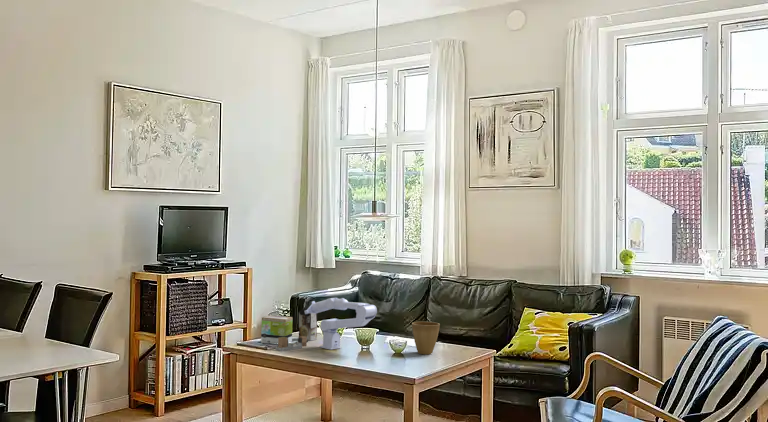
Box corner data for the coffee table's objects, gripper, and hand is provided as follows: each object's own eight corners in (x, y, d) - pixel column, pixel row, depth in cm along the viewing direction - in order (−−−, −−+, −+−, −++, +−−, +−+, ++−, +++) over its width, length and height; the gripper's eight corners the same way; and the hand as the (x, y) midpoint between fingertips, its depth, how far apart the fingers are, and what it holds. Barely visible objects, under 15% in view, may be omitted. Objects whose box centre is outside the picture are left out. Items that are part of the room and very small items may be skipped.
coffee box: (317, 339, 408) (317, 311, 408) (310, 341, 403) (311, 313, 403) (305, 337, 413) (305, 310, 413) (298, 339, 408) (298, 311, 408)
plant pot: (437, 356, 364) (438, 326, 364) (409, 355, 367) (409, 324, 367) (440, 351, 379) (441, 322, 379) (413, 350, 382) (414, 320, 382)
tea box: (260, 343, 392) (261, 317, 392) (268, 340, 401) (269, 314, 401) (284, 345, 387) (285, 318, 387) (292, 342, 397) (293, 316, 397)
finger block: (306, 346, 387) (306, 337, 387) (301, 346, 384) (301, 337, 384) (302, 345, 389) (302, 336, 389) (297, 345, 387) (297, 336, 387)
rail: (302, 348, 380) (302, 336, 380) (280, 351, 370) (280, 338, 370) (296, 346, 384) (296, 334, 384) (275, 349, 374) (275, 337, 374)
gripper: (327, 295, 394) (310, 300, 402) (310, 303, 382) (293, 308, 391) (331, 307, 394) (314, 312, 402) (314, 315, 382) (297, 320, 390)
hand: (304, 311), depth 396 cm, fingers open, 7 cm apart
